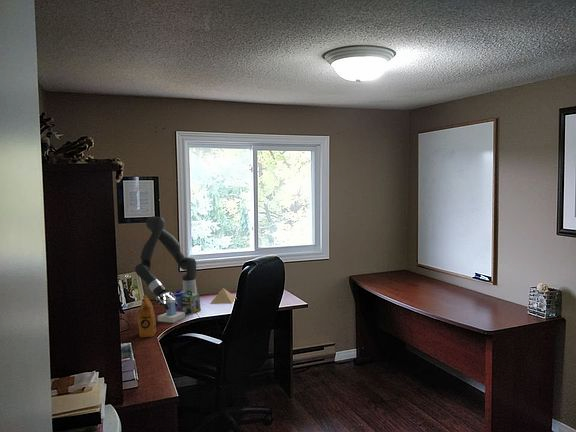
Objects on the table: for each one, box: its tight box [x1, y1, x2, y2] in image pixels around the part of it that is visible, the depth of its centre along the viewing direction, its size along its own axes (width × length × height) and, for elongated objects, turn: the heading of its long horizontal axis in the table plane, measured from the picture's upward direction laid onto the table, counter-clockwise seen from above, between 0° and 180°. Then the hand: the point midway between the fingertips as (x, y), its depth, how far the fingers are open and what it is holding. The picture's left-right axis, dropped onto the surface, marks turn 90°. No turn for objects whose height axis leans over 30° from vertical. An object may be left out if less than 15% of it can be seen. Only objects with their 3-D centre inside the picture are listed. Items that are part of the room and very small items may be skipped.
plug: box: [165, 297, 176, 316], centre depth 285 cm, size 4×4×13 cm
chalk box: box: [181, 290, 201, 315], centre depth 302 cm, size 9×9×15 cm
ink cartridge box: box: [172, 289, 186, 312], centre depth 307 cm, size 10×6×14 cm, turn 135°
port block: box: [157, 311, 186, 324], centre depth 285 cm, size 12×12×4 cm
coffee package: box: [137, 294, 157, 339], centre depth 257 cm, size 10×12×22 cm
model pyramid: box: [209, 288, 236, 305], centre depth 327 cm, size 17×17×10 cm
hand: (172, 307), depth 284 cm, fingers open, 7 cm apart
